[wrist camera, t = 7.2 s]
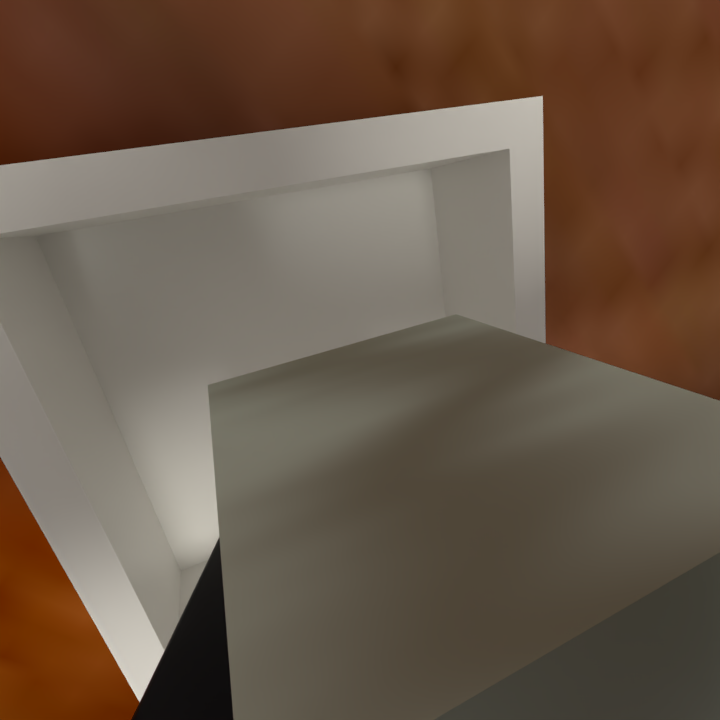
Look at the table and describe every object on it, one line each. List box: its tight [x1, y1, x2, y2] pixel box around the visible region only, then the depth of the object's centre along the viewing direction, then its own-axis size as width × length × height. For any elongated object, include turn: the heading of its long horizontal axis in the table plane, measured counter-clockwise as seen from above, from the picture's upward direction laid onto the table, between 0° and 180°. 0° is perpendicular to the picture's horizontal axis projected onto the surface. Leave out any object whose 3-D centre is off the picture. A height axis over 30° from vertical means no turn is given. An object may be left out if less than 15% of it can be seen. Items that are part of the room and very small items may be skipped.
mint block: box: [208, 314, 720, 720], centre depth 6 cm, size 5×5×6 cm
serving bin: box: [0, 96, 546, 702], centre depth 12 cm, size 13×13×4 cm
